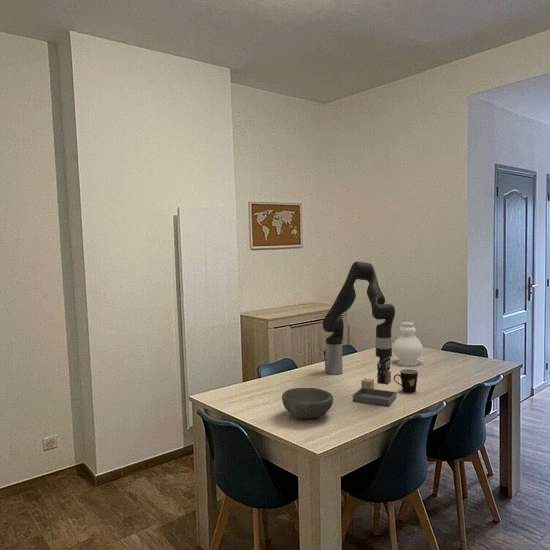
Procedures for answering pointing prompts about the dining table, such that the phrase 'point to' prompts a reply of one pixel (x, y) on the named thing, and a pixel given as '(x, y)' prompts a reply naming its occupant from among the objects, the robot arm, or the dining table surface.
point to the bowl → (307, 402)
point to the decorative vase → (407, 345)
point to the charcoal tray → (374, 396)
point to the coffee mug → (408, 380)
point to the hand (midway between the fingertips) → (384, 381)
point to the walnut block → (387, 377)
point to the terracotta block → (367, 383)
